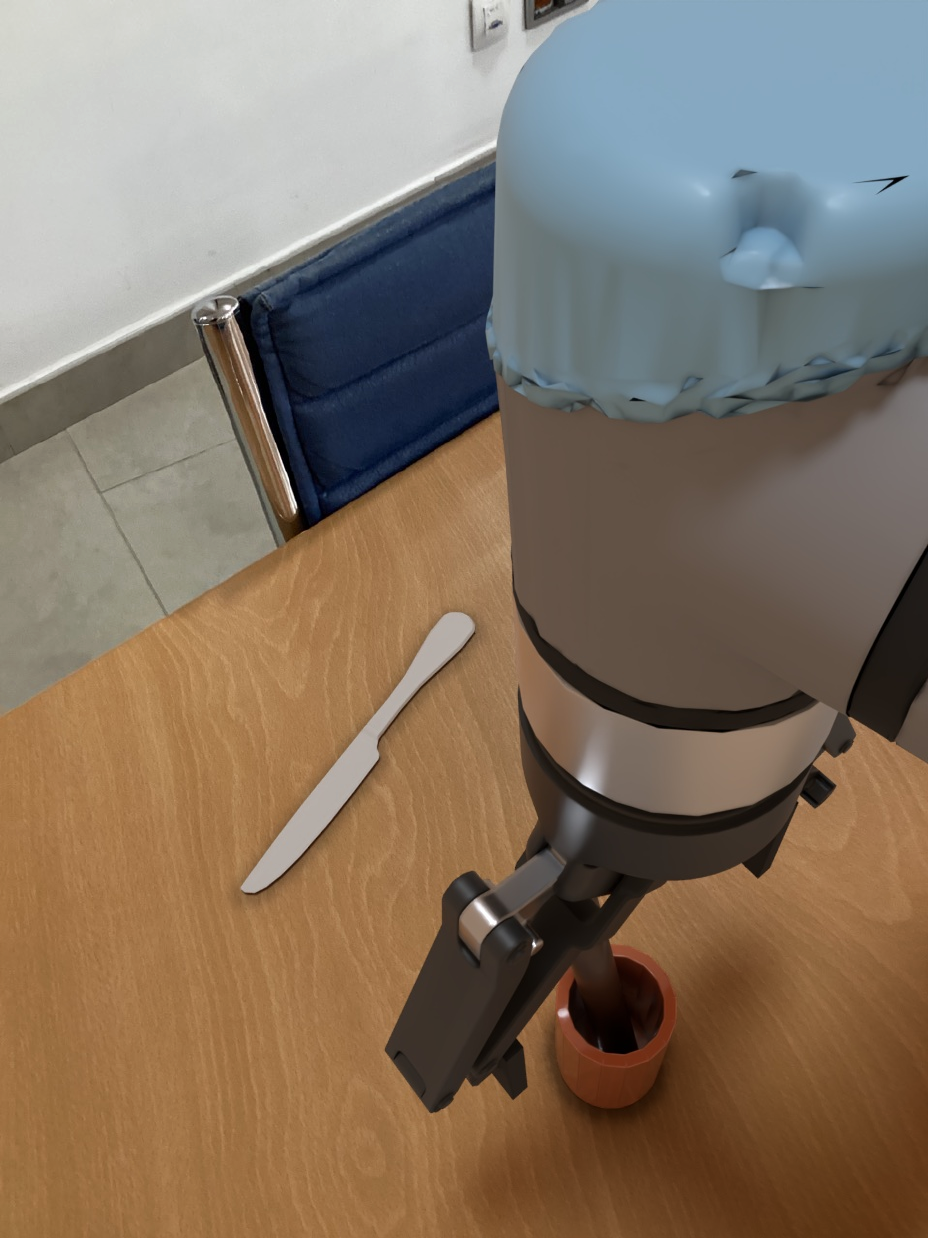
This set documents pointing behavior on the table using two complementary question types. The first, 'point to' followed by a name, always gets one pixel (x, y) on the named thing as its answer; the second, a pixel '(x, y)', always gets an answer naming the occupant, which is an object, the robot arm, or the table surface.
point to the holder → (653, 1023)
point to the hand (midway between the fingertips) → (624, 953)
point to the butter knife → (358, 755)
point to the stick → (604, 998)
